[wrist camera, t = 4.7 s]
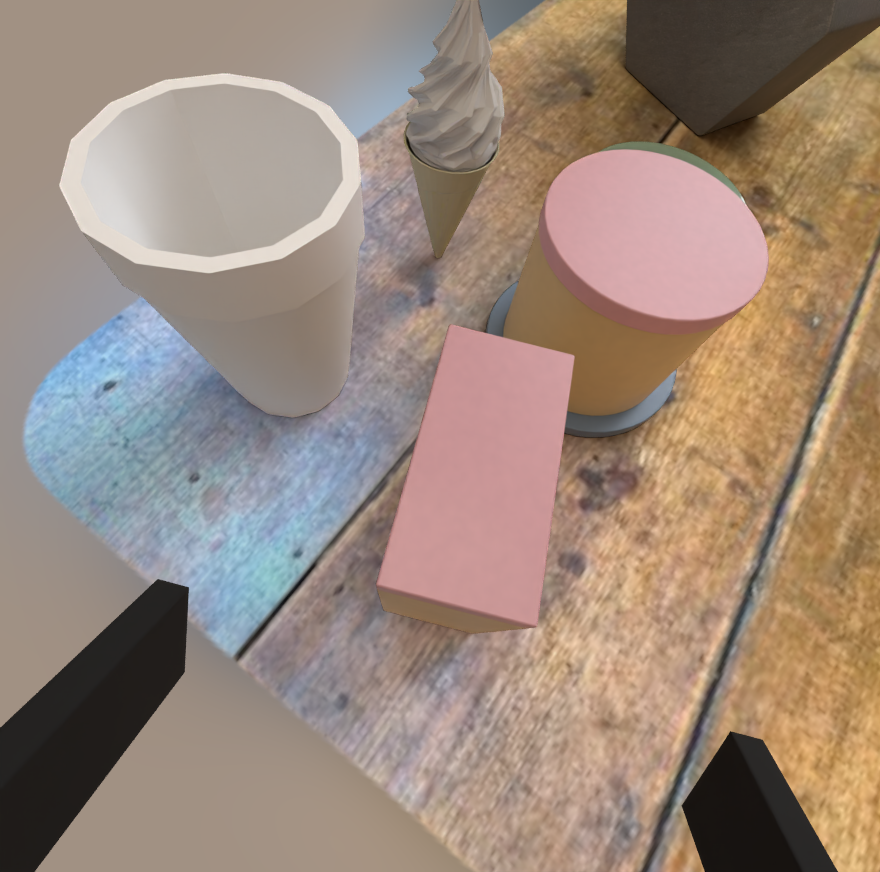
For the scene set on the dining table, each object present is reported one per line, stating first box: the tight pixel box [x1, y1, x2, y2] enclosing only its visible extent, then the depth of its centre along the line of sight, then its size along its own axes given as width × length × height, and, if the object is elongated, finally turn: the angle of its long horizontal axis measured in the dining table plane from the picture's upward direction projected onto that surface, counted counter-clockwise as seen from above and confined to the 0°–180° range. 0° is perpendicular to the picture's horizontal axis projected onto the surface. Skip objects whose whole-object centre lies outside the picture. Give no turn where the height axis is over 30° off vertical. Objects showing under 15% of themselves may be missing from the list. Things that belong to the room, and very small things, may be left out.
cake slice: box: [376, 324, 575, 634], centre depth 19 cm, size 9×4×11 cm, turn 167°
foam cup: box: [59, 73, 365, 418], centre depth 22 cm, size 10×9×13 cm
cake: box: [485, 149, 769, 437], centre depth 25 cm, size 12×12×10 cm
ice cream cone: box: [404, 0, 505, 258], centre depth 25 cm, size 5×5×15 cm
